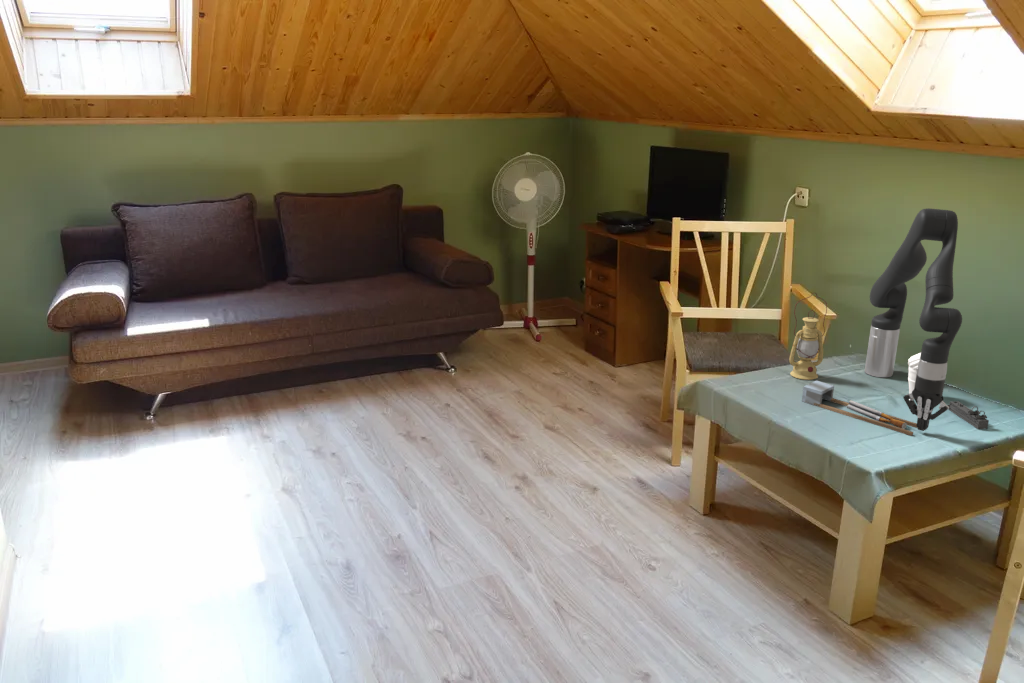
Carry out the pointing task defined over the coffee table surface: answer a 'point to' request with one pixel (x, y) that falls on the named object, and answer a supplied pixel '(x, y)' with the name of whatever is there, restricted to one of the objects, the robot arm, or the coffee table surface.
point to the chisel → (891, 420)
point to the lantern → (807, 348)
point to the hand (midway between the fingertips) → (921, 429)
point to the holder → (821, 390)
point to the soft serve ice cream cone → (913, 370)
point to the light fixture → (969, 415)
